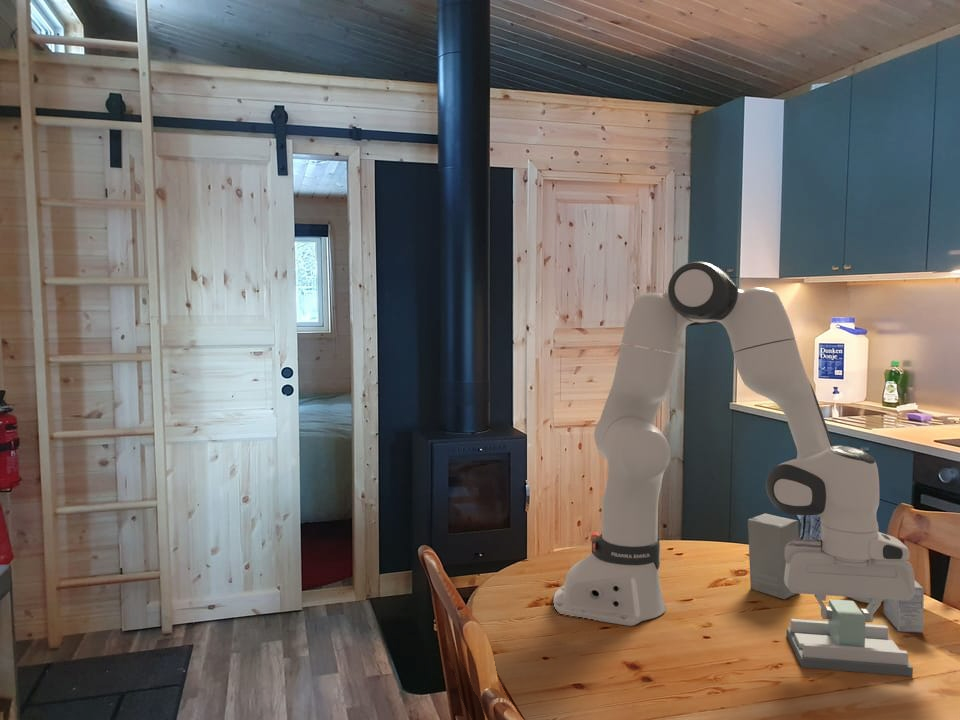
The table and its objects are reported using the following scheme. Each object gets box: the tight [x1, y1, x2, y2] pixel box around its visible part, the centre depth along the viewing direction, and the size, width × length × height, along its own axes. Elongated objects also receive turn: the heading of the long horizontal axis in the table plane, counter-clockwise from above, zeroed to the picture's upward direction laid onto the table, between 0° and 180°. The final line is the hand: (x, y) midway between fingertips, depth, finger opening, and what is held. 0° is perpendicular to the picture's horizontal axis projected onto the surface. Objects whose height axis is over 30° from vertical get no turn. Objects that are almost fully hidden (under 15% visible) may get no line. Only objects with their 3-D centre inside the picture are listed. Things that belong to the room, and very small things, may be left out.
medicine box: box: [883, 580, 925, 634], centre depth 138 cm, size 8×4×9 cm, turn 168°
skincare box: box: [747, 512, 800, 600], centre depth 153 cm, size 8×7×16 cm
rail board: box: [786, 618, 914, 677], centre depth 126 cm, size 17×12×4 cm
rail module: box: [827, 599, 866, 647], centre depth 126 cm, size 4×7×6 cm, turn 168°
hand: (846, 619), depth 126 cm, fingers open, 5 cm apart
